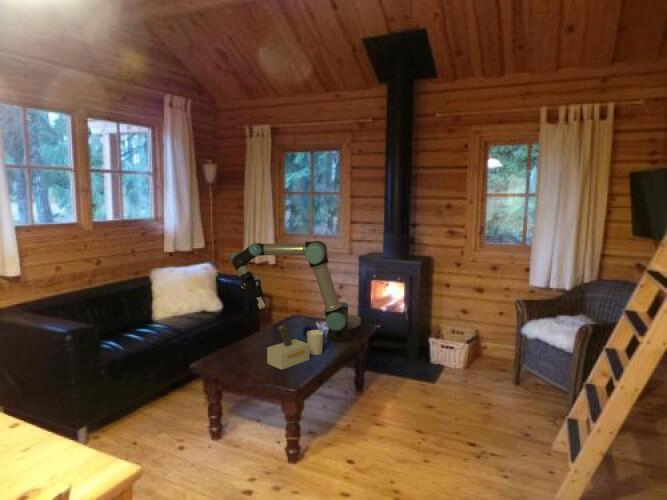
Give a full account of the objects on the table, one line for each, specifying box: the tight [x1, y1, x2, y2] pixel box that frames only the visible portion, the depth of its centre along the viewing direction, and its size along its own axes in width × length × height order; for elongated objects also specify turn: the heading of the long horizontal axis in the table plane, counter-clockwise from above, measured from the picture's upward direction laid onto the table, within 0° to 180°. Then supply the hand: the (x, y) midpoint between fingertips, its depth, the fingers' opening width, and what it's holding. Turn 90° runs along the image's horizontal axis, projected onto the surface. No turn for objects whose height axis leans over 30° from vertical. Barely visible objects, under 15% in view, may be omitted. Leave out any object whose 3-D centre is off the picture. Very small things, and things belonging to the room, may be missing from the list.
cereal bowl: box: [348, 314, 362, 331], centre depth 314 cm, size 17×17×7 cm
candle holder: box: [306, 329, 324, 356], centre depth 267 cm, size 10×10×12 cm
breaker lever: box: [277, 324, 292, 346], centre depth 254 cm, size 5×2×11 cm, turn 135°
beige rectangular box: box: [266, 338, 310, 370], centre depth 253 cm, size 20×12×9 cm, turn 135°
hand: (262, 307), depth 266 cm, fingers closed
